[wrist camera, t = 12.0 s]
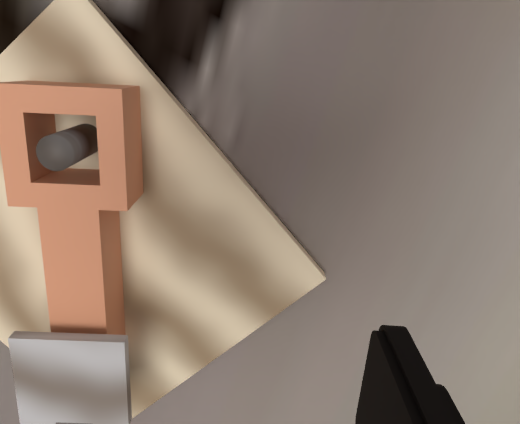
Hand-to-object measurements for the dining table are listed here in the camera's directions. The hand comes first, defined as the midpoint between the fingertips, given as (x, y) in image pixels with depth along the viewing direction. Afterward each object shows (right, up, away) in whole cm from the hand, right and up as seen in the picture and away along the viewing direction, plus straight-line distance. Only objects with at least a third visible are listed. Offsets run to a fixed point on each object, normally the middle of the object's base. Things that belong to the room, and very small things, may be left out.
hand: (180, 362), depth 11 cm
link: (-10, +3, +20) cm, 23 cm away
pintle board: (-10, +2, +22) cm, 24 cm away
